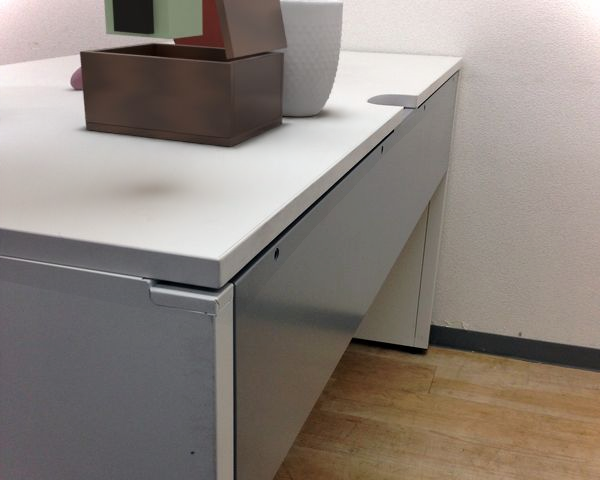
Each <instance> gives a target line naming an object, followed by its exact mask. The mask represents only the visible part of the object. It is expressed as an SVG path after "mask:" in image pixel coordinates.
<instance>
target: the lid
mask: <svg viewBox="0 0 600 480" xmlns="http://www.w3.org/2000/svg"><path fill="white" fill-rule="evenodd" d="M215 1H216V6H217V11H218V17H219V22H220V27H221V32H222V37H223V42H224V47H225V52H226V57H227V59H231V58H237V57H242V56H247V55H252V54H257V53H262V52H267V51H272V50H278V49H283V48H287V41H286V35H285V29H284V23H283V17H282V11H281V6H280V0H215Z"/></svg>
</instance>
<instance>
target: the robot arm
mask: <svg viewBox="0 0 600 480" xmlns="http://www.w3.org/2000/svg"><path fill="white" fill-rule="evenodd" d="M112 3H113V22H114V31H116V32H128V33H139V34H154V15H153V0H112Z"/></svg>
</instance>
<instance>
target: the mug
mask: <svg viewBox="0 0 600 480" xmlns="http://www.w3.org/2000/svg"><path fill="white" fill-rule="evenodd" d="M280 6H281V11H282V17H283V23H284V29H285V35H286V41H287V48H283V49H278V50H272V51H271V52H284V74H283V110H282V117H283V116H284V117H311V116H316V115H318V114H319V113H320V112H321V111H322V110H323V109H324V107H325V106H326V104H327V101H328V100H329V99H330V95H331V94H332V90H333V88H334V84H335V82H336V77H337V72H338V68H339V67H338V66H339V62H340V54H341V47H342V44H341V43H342V35H343V33H342V31H343V13H344V1H342V0H280Z"/></svg>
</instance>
